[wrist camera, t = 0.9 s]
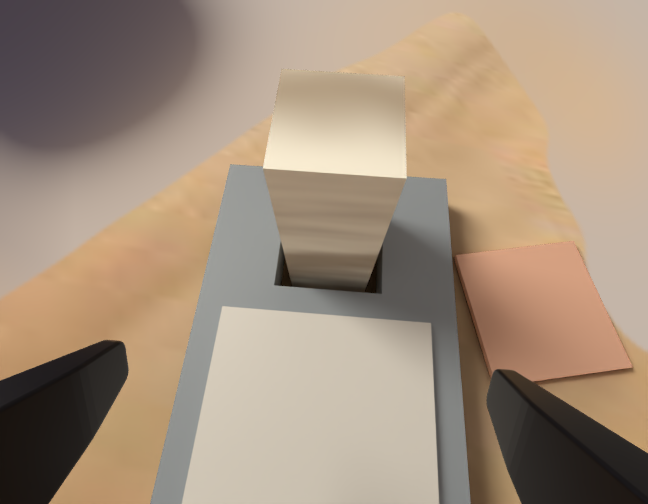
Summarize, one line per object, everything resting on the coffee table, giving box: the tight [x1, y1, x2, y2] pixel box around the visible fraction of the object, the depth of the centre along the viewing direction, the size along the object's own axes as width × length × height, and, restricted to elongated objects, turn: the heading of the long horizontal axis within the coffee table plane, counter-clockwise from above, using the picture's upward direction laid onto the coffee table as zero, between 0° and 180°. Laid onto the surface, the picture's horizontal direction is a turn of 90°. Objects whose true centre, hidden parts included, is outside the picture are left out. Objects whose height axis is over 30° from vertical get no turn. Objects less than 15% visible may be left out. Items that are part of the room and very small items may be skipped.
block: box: [263, 69, 407, 292], centre depth 17 cm, size 4×4×12 cm
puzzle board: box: [150, 164, 471, 504], centre depth 19 cm, size 21×14×3 cm, turn 175°
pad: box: [454, 241, 633, 382], centre depth 21 cm, size 8×8×1 cm
